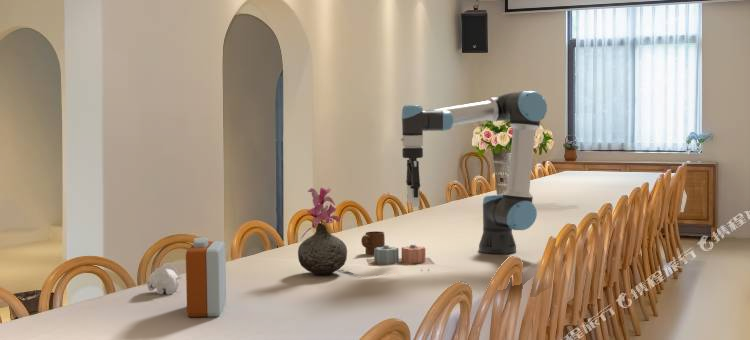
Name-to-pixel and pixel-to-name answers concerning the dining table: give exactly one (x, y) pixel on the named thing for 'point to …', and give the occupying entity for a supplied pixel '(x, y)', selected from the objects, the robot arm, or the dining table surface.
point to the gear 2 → (413, 254)
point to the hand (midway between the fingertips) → (413, 204)
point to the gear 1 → (386, 255)
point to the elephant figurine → (164, 279)
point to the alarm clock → (205, 278)
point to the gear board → (372, 263)
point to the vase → (322, 240)
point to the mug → (373, 241)
